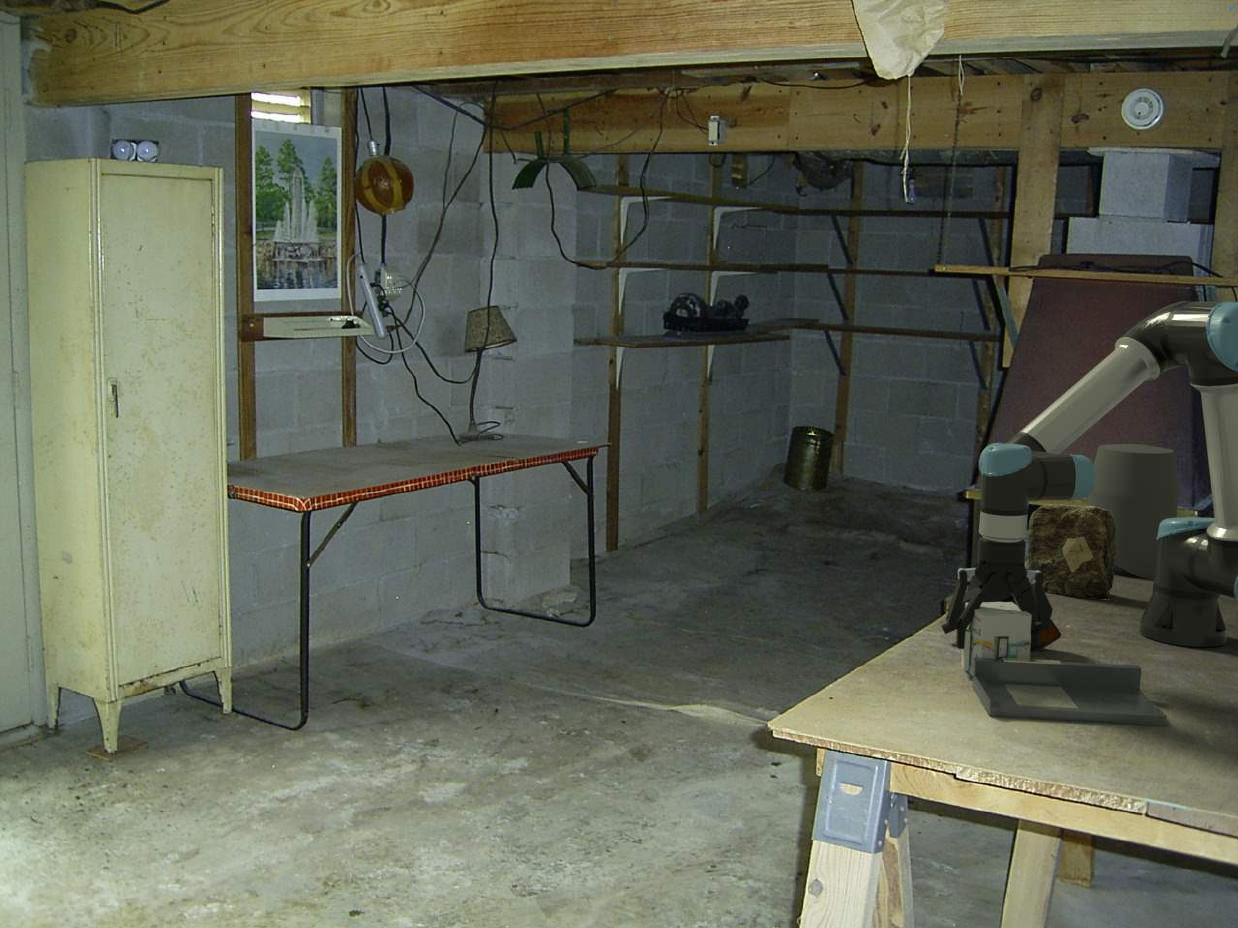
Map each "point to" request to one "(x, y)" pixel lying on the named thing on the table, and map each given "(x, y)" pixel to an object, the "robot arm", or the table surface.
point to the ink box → (999, 632)
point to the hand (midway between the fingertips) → (994, 668)
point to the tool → (1026, 589)
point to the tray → (1063, 691)
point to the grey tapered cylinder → (1136, 499)
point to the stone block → (1073, 549)
